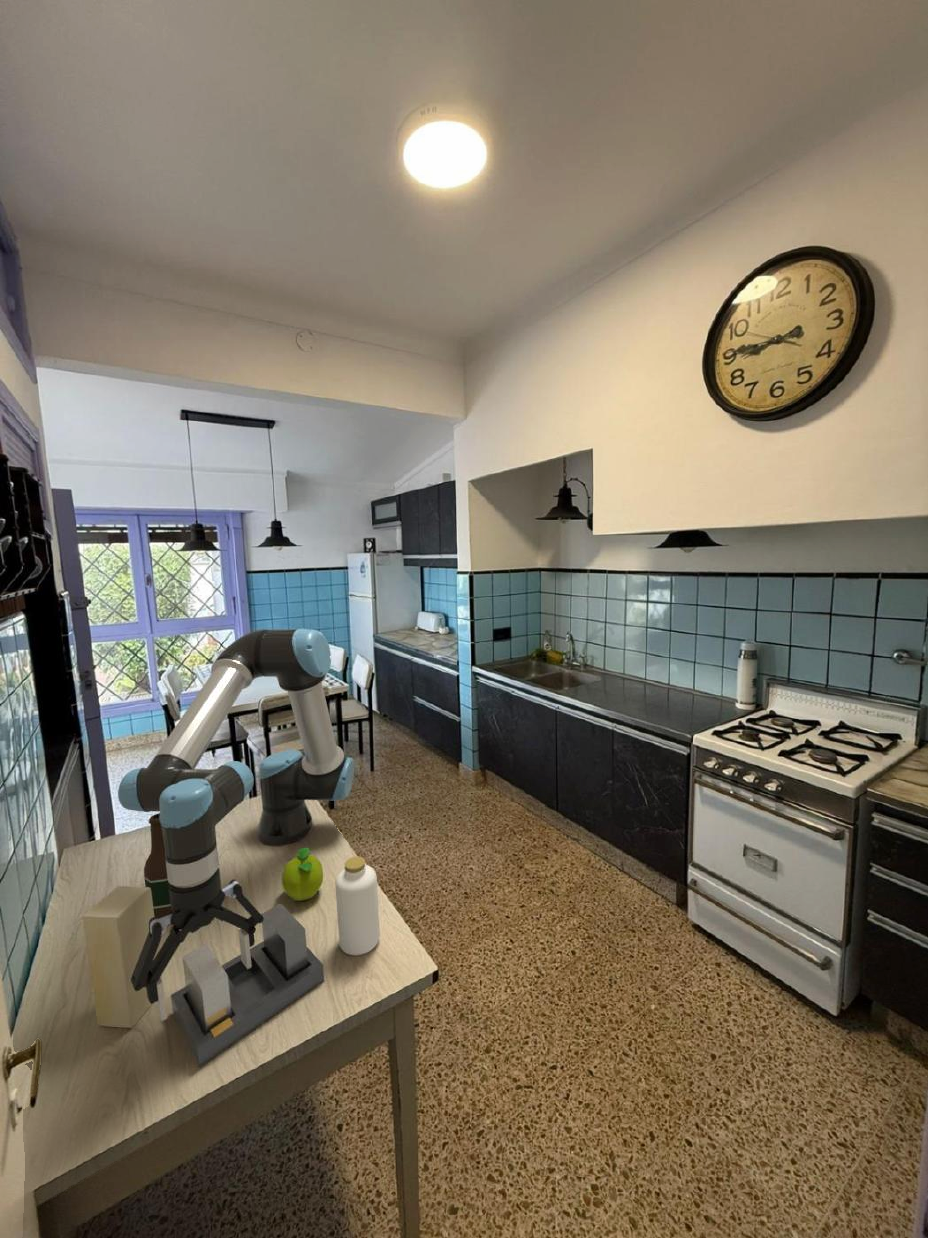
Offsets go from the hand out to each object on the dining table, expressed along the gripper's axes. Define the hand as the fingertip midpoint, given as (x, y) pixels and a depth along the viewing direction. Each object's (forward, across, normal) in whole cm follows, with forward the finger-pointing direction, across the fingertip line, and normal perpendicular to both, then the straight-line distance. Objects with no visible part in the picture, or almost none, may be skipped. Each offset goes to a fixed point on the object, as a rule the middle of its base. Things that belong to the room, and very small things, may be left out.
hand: (206, 988), depth 85 cm
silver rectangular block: (+6, 0, 0) cm, 6 cm away
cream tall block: (+7, +9, -14) cm, 18 cm away
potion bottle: (+7, -28, +4) cm, 29 cm away
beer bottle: (+7, -3, -35) cm, 36 cm away
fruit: (+7, -27, -18) cm, 33 cm away
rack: (+7, -7, 0) cm, 10 cm away
